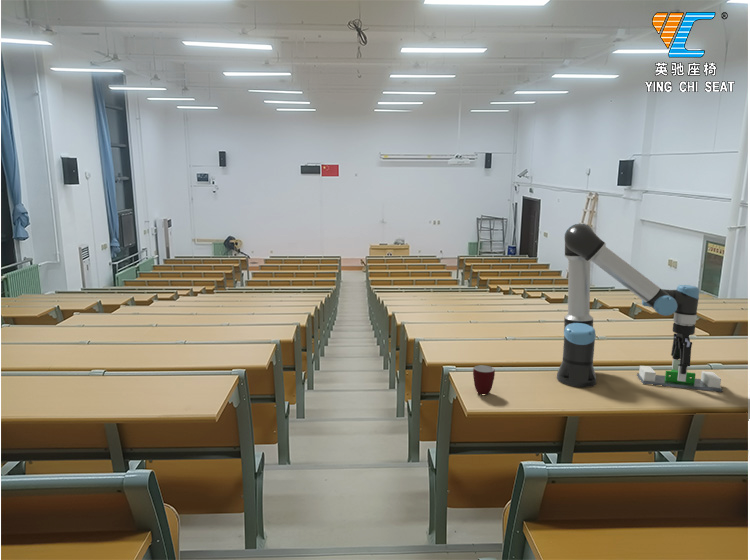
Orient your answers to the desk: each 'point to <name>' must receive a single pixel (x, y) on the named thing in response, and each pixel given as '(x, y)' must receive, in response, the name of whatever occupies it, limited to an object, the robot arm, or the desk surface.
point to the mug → (483, 378)
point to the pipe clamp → (675, 376)
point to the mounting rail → (706, 382)
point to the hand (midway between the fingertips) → (678, 377)
